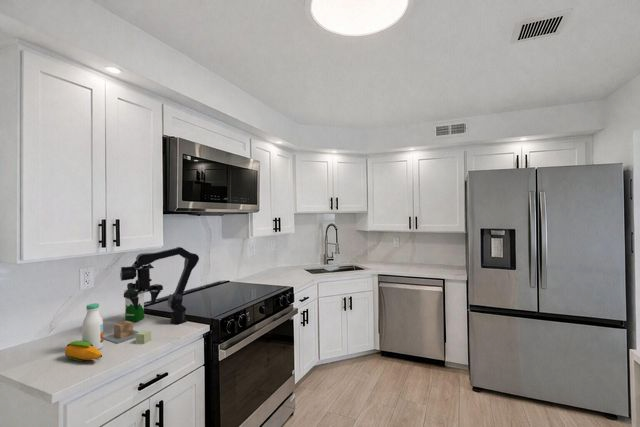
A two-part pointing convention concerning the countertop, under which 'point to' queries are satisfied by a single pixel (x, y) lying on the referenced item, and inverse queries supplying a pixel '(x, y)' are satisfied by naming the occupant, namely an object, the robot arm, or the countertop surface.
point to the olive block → (143, 337)
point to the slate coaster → (118, 340)
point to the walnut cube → (123, 329)
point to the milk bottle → (93, 326)
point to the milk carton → (130, 311)
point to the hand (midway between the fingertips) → (144, 307)
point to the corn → (82, 351)
